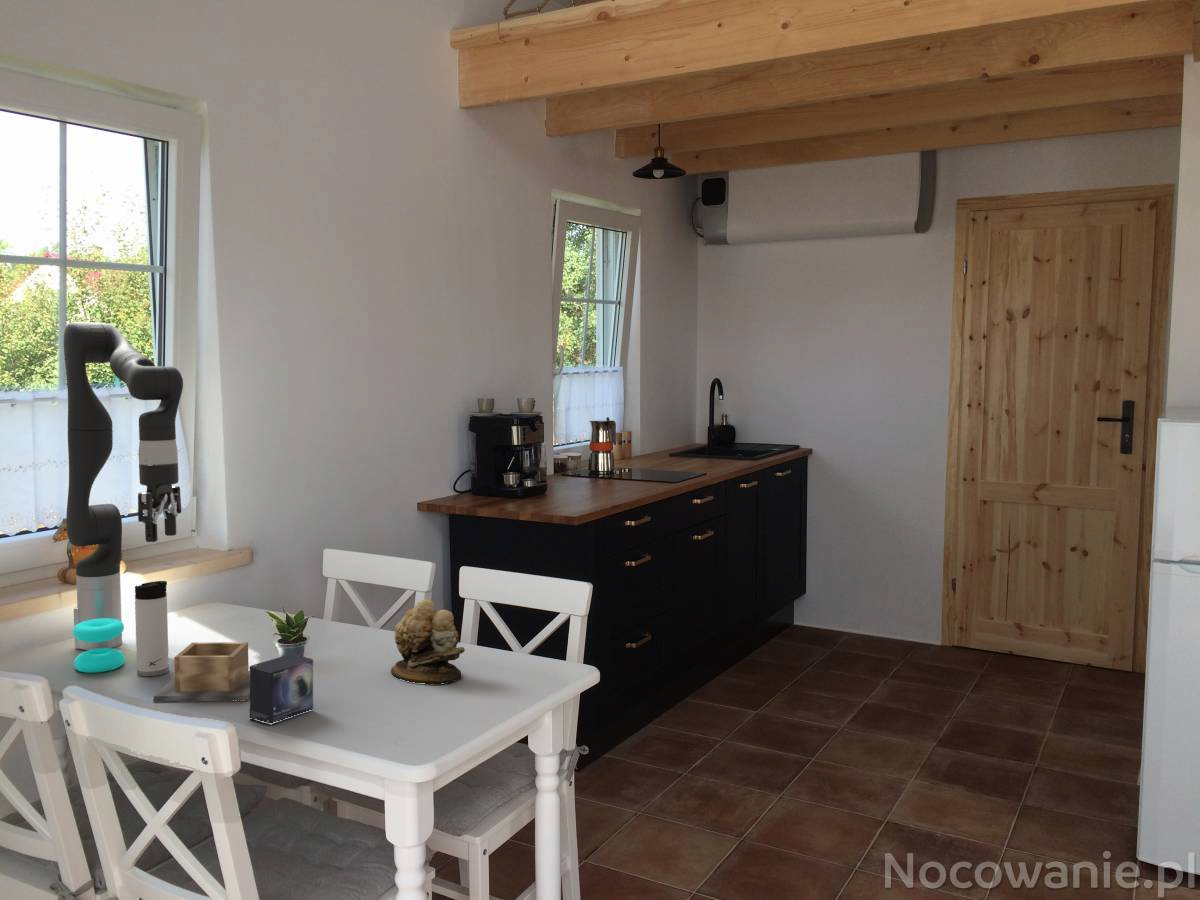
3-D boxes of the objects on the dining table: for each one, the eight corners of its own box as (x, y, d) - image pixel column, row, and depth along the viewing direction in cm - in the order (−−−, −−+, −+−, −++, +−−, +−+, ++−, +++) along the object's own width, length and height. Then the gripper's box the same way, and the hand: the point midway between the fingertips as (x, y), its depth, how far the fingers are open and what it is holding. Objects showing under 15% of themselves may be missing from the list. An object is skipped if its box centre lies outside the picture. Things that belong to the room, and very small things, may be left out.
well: (153, 702, 200) (152, 661, 200) (181, 676, 216) (181, 638, 216) (246, 701, 201) (245, 660, 201) (267, 676, 217) (267, 638, 217)
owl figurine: (478, 675, 220) (478, 598, 219) (445, 691, 210) (445, 610, 208) (411, 662, 229) (411, 587, 227) (377, 676, 218) (376, 599, 217)
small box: (271, 727, 188) (270, 671, 187) (248, 720, 191) (247, 665, 190) (315, 710, 197) (314, 657, 196) (292, 704, 200) (291, 652, 199)
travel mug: (158, 678, 215) (155, 585, 213) (130, 675, 216) (127, 583, 215) (176, 669, 221) (174, 579, 219) (149, 667, 223) (146, 577, 221)
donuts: (86, 616, 226) (131, 617, 226) (88, 660, 227) (133, 660, 227) (63, 628, 216) (110, 628, 216) (65, 674, 217) (111, 674, 217)
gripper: (157, 459, 220) (159, 533, 221) (123, 464, 206) (126, 543, 207) (191, 459, 220) (193, 533, 221) (160, 464, 206) (163, 543, 207)
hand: (161, 538), depth 214 cm, fingers open, 8 cm apart
